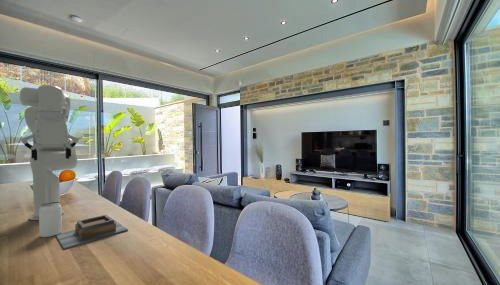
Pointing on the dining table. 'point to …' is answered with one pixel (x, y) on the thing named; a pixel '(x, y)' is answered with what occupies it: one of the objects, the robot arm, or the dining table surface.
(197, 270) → the dining table surface
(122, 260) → the dining table surface
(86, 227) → the board
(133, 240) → the dining table surface
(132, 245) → the dining table surface
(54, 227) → the can
